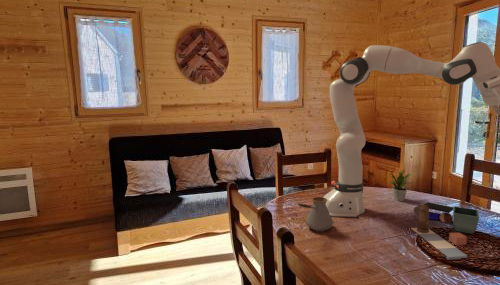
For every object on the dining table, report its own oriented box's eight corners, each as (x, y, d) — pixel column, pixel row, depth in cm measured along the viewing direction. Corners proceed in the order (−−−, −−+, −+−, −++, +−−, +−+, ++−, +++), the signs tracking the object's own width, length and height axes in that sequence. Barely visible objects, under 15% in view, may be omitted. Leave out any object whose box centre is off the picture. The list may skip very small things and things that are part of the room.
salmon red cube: (455, 247, 124) (456, 237, 124) (448, 242, 128) (449, 233, 128) (466, 247, 125) (467, 237, 124) (458, 242, 129) (459, 232, 128)
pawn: (420, 233, 134) (422, 207, 133) (414, 228, 139) (416, 203, 137) (431, 232, 135) (433, 206, 133) (424, 228, 139) (426, 202, 137)
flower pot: (477, 238, 131) (479, 216, 129) (451, 233, 136) (452, 212, 134) (476, 230, 138) (478, 209, 137) (451, 225, 143) (453, 205, 141)
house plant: (421, 205, 168) (423, 173, 165) (393, 205, 168) (394, 174, 165) (408, 195, 182) (409, 166, 179) (382, 196, 182) (383, 167, 179)
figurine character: (413, 220, 153) (449, 227, 141) (412, 204, 152) (448, 209, 141) (419, 216, 157) (455, 222, 146) (418, 200, 157) (454, 205, 145)
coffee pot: (315, 220, 152) (315, 188, 150) (337, 227, 144) (338, 194, 142) (286, 235, 137) (286, 201, 135) (309, 244, 130) (309, 207, 127)
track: (447, 259, 116) (448, 257, 116) (410, 230, 140) (410, 228, 139) (467, 258, 116) (467, 255, 116) (426, 229, 140) (426, 227, 140)
